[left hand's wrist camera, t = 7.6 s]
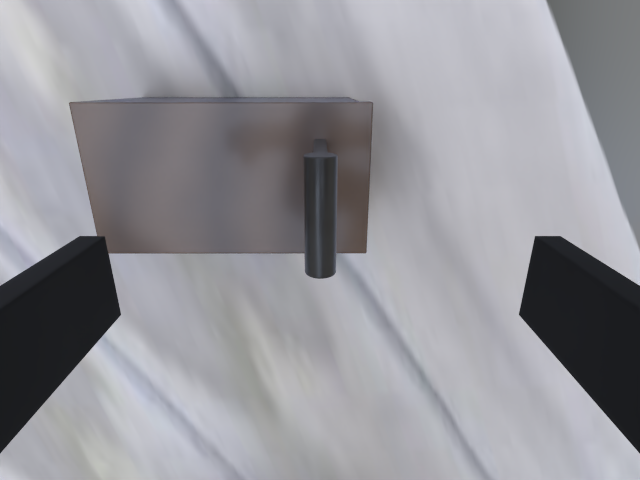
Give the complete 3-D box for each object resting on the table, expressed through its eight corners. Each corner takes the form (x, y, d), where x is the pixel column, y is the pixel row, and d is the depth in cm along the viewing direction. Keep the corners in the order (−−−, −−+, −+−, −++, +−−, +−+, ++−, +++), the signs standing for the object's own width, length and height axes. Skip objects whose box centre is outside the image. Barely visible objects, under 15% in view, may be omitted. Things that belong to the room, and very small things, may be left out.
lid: (371, 101, 24) (396, 109, 16) (364, 247, 27) (383, 314, 19) (78, 101, 24) (-43, 109, 16) (107, 248, 27) (21, 314, 19)
